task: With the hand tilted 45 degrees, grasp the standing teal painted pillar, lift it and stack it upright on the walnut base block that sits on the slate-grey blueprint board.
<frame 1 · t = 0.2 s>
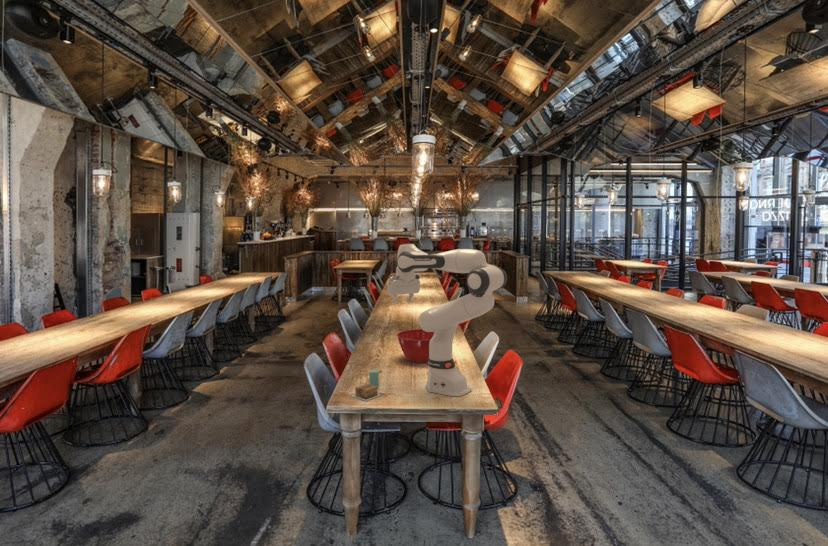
hand: (402, 302, 251), 39 cm above the table, tool pointing down, fingers open, 8 cm apart
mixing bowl: (421, 360, 288), on the table
pillar: (374, 387, 240), on the table
blueprint board: (366, 396, 228), on the table
base block: (366, 395, 228), resting on blueprint board
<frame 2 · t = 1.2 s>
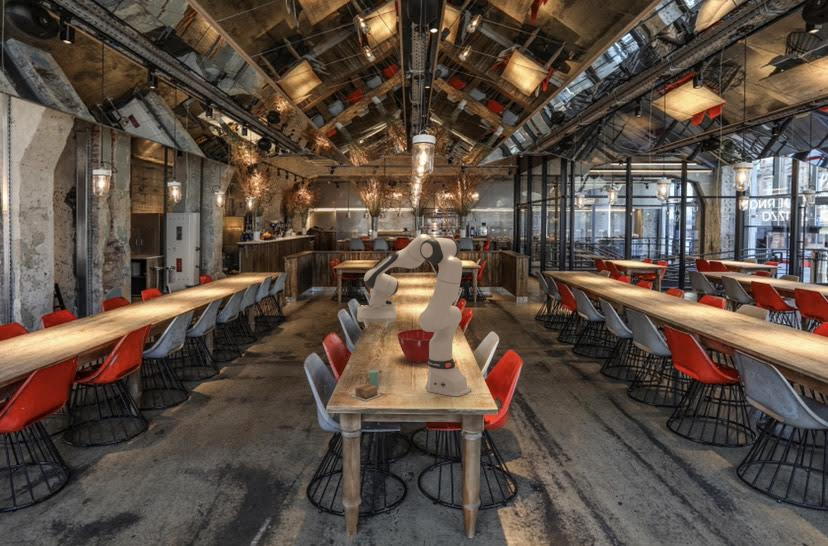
hand: (376, 328, 250), 26 cm above the table, tool tilted 45°, fingers open, 8 cm apart
nothing on the table moved.
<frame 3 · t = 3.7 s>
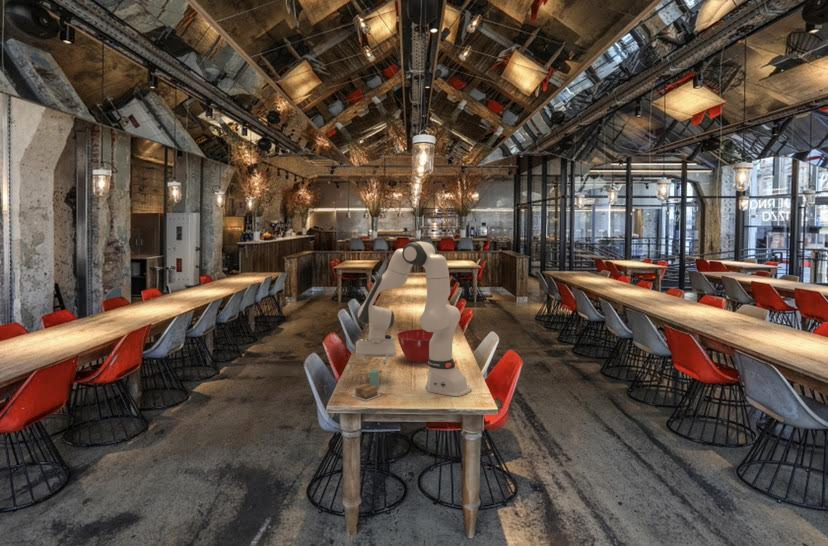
hand: (375, 363, 245), 10 cm above the table, tool tilted 45°, fingers open, 8 cm apart
nothing on the table moved.
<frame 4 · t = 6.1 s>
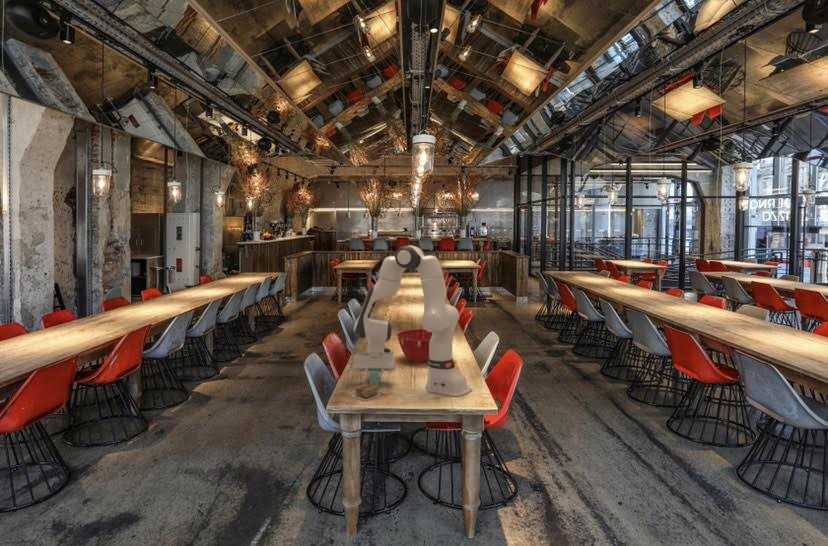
hand: (374, 378, 239), 5 cm above the table, tool tilted 45°, fingers closed on pillar, 4 cm apart
pillar: (374, 387, 240), on the table, touching gripper
everything else where it was.
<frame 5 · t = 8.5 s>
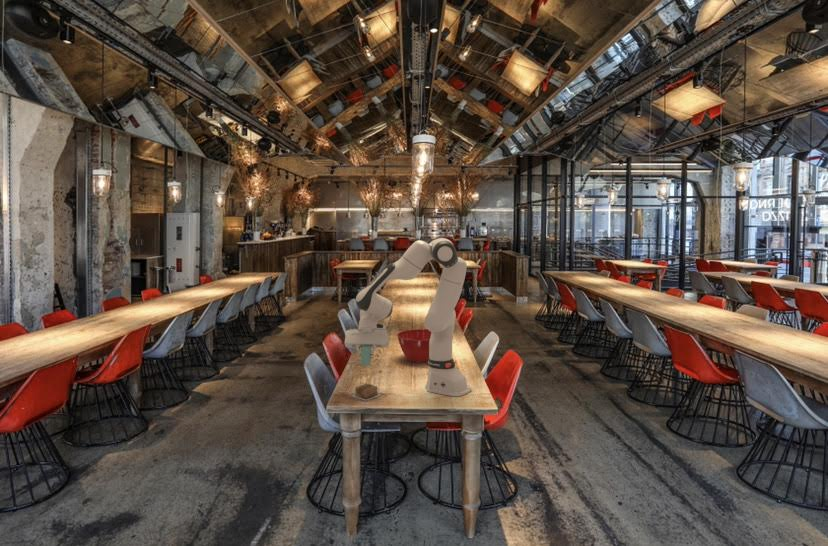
hand: (365, 354, 225), 19 cm above the table, tool tilted 45°, fingers closed on pillar, 4 cm apart
pillar: (366, 364, 227), point 15 cm above the table, touching gripper
everything else where it was.
when the fingers open (10 cm above the table, at t = 10.9 s): pillar drops 1 cm, resting on base block.
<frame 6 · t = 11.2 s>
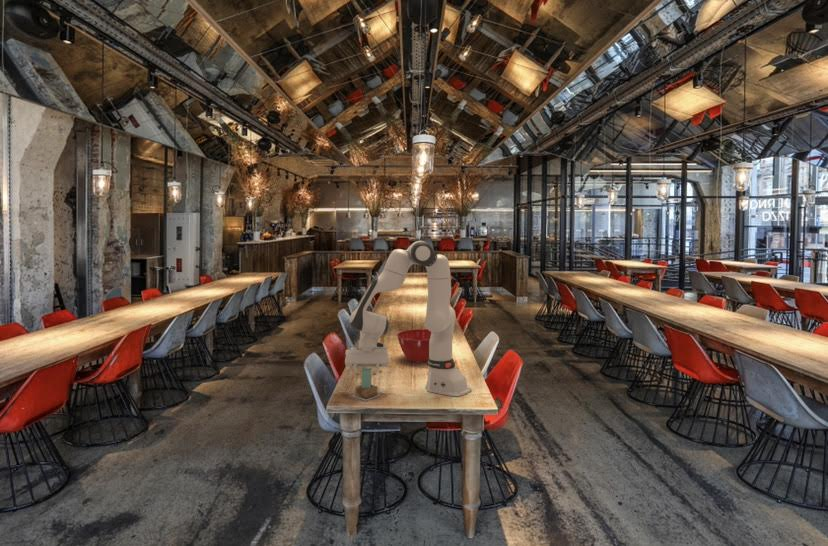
hand: (366, 374, 226), 10 cm above the table, tool tilted 45°, fingers open, 7 cm apart
pillar: (366, 386, 227), point 4 cm above the table, touching base block
base block: (366, 395, 228), resting on blueprint board, touching pillar
everything else where it was.
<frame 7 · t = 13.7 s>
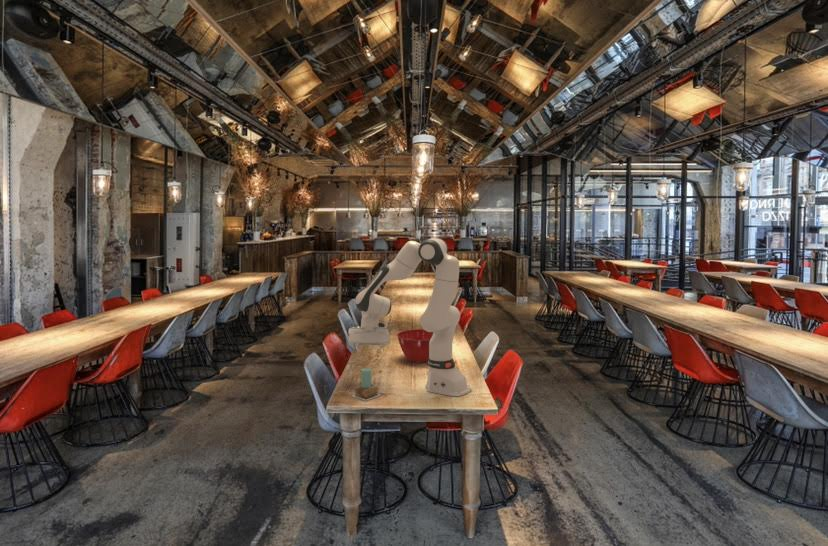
hand: (368, 353, 240), 16 cm above the table, tool tilted 35°, fingers open, 8 cm apart
nothing on the table moved.
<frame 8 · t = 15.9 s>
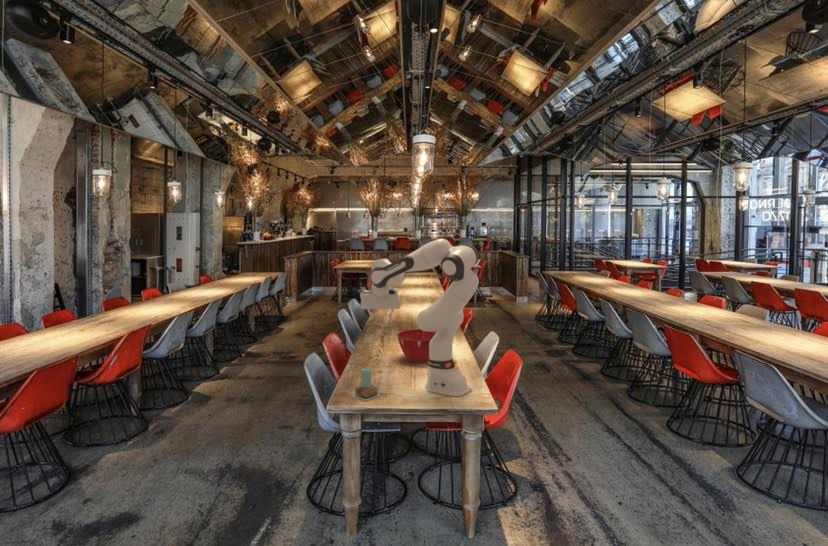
hand: (380, 317, 252), 31 cm above the table, tool pointing down, fingers open, 8 cm apart
nothing on the table moved.
at the end: pillar 0.1 cm off-centre on the base block, point 4.0 cm above the base block's base; pillar tilted 0°; the gripper is holding nothing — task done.
